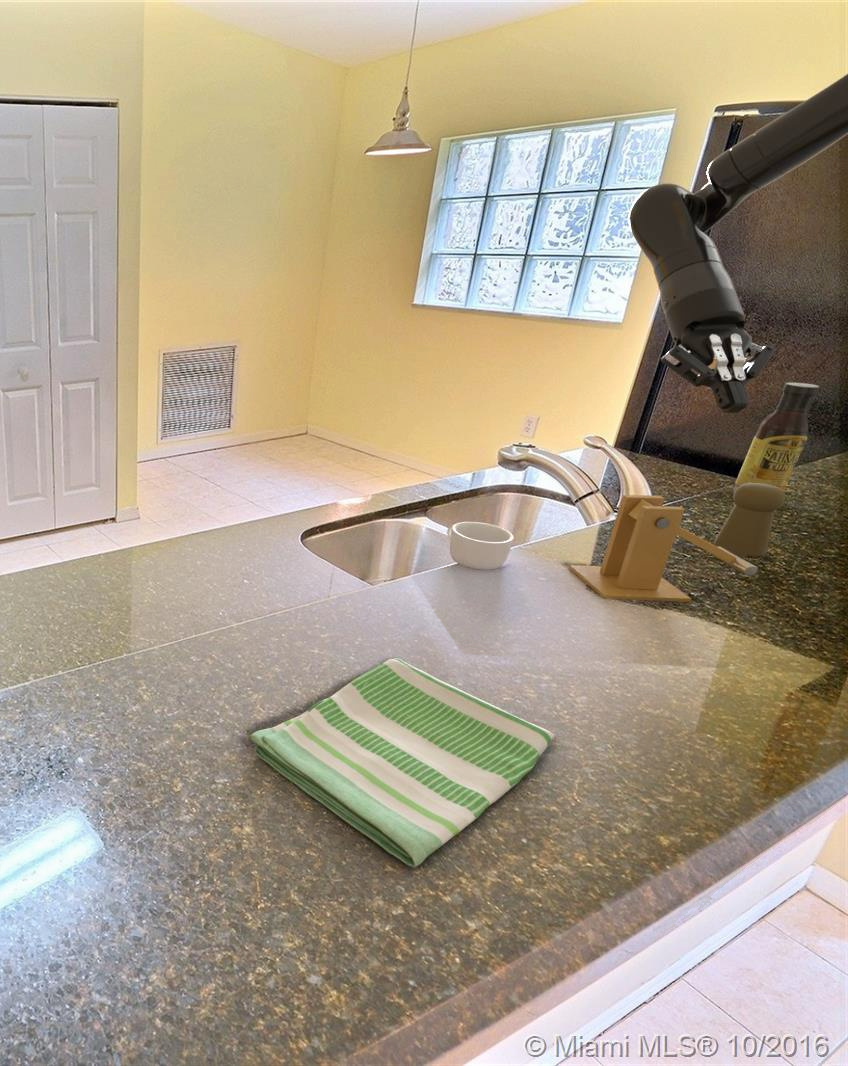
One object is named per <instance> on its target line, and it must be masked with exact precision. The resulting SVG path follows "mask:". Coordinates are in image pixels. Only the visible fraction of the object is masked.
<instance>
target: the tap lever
mask: <svg viewBox="0 0 848 1066" xmlns="http://www.w3.org/2000/svg"><path fill="white" fill-rule="evenodd" d="M641 506H653V505H651V504H650V503H648V502H646V501H644V500H641V501H640V502H639V503H638V504H637V505H636V507H635V508H634V509H633V510H632V511H631V512H630V513H629V514H628V515H630V516H631V517H633V518H634V519H636V520H637V518H638V515H639V511H640V508H641ZM676 536H677V537H680V538H681V539H683V540H686V541H687V542H689V543H691V544H693V545H694V546H696V547H698V548H700V549H702V550H704V551H706V552H708V553H709V554H711V555H712V556H714V557H715V558H717V559H718V560H720V561H722V562H723V563H725V564H727V565H728V566H730V567H731V568H733V569H735V570H736V571H738V572H740V573H741V574H743V575H744V576H747V577H752V576H754V575H756V574H757V573H758V570H759V569H758V567H757V566H756V565H754V564H752V563H750V562H749V561H747V560H746V559H745V558H740V557H739V556H737V555H735V554H733V553H732V552H730V551H728V550H727V549H725V548H723V547H716V546H715V545H714V543H711V542H709V541H707V540H705V539H704V538H702V537H700V536H697V534H694V533H693V532H690V531H688V530H687V529H685V528H683V527H681V526H679V528H678V531H677V534H676Z"/></svg>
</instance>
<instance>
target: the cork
mask: <svg viewBox="0 0 848 1066" xmlns="http://www.w3.org/2000/svg"><path fill="white" fill-rule="evenodd" d="M732 499H733V502H734V503H735V504H734V506H733V508H732V510H731V511H730V513H729V515H728V517H727V518H726V520H725V522H724V523H723V525H722V527H721V529H720V530H719V532H718V534H717V535H716V537H715V539H714V541H713V543H712V544H713V545H715V546H716V547H723V548H725V549H727V550H728V551H730V552H732V553H733V554H735V555H737V556H739V557H740V558H742V559H749V560H759V559H760V557H762V556H765V555H766V554H767V552H768V547H769V541H770V536H771V532H772V527H773V521H774V517H775V512H776V511H777V510H779V509H781V507H782V506H783V505H784V504H785V501H786V494H785V490H784V491H783V490H782V489H780V488H778V487H776V486H772V485H768V484H762V483H746V484H742V485H741V486H739V487H738V488H737V489H736V490H735V492H734V493H733V497H732ZM758 557H759V558H758Z"/></svg>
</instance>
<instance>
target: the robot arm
mask: <svg viewBox="0 0 848 1066" xmlns="http://www.w3.org/2000/svg"><path fill="white" fill-rule="evenodd" d="M847 135H848V73H846V74H844V75H843V76H842V77H840V78H838V79H837V80H836V81H834V82H833V83H832V84H830V85H828V86H827V87H825V88H823V89H822V90H820V91H819V92H817V93H816V94H814V95H812V96H811V97H809V98H807V99H806V100H804V101H803V102H801V103H799V104H798V105H796V106H795V107H793V108H791V109H790V110H788V111H786V112H785V113H783V114H782V115H780V116H779V117H777V118H775V119H773V120H772V121H770V122H769V123H767V124H765V125H764V126H763V127H761V128H759V129H757V130H756V131H755V132H753V133H751V134H750V135H748V136H747V137H746V138H744V139H742V140H741V141H739V142H737V143H736V144H734V145H733V146H731V147H730V148H728V149H726V150H725V151H724V152H721V154H719V155H718V156H717V157H715V158H714V159H713V160H712V161H711V162H710V163H709V165H708V167H707V171H706V175H707V179H708V182H707V183H706V184H704V186H703V187H701V188H700V189H699V190H698V191H695V192H694V193H693V192H692V191H690V190H688V189H686V188H685V187H683V186H681V185H679V184H675V183H669V182H668V183H658V184H656V185H652V186H651V187H649V188H647V189H645V190H643V192H641V193H640V194H639V195H638V196H637V197H636V199H635V200H634V201H633V202H632V205H631V207H630V210H629V214H628V224H629V229H630V232H631V234H632V236H633V238H634V239H635V241H636V243H637V244H638V246H639V247H640V250H641V251H642V252H643V254H644V255H645V257H646V258H647V259H648V261H649V262H650V264H651V267H652V270H653V274H654V278H655V280H656V284H657V286H658V290H659V295H660V303H661V307H662V310H663V313H664V316H665V319H666V322H667V325H668V328H669V332H670V335H671V338H672V341H673V342H674V343H675V344H674V347H672V348H671V349H670V350H669V351H668V352H667V353H666V354H665V355H663V356H662V357H661V358H660V361H661V363H662V364H663V365H665V366H666V367H668V368H669V369H671V370H672V371H674V372H675V373H676V374H677V375H679V376H680V377H681V378H683V379H684V380H686V381H687V382H688V383H690V384H691V385H692V386H693V387H698V388H699V387H701V386H704V387H707V389H708V390H710V391H712V394H713V397H714V399H715V402H716V406H717V407H718V408H719V409H720V410H721V411H722V413H723V414H738V413H740V412H741V411H742V410H744V409H746V408H747V406H748V404H750V397H749V394H748V391H747V388H746V386H745V385H747V384H748V383H749V382H750V381H752V380H753V379H755V378H756V377H758V376H759V375H760V374H761V372H762V370H763V369H764V367H765V366H766V365H767V363H768V361H769V360H770V358H771V357H772V356H773V354H774V353H775V352H776V347H775V346H774V345H772V344H765V346H760V345H758V344H756V343H754V342H752V341H753V339H752V336H751V335H750V334H749V333H748V332H746V330H745V323H746V322H745V321H746V315H745V313H744V310H743V307H742V304H741V302H740V299H739V297H738V294H737V291H736V288H735V286H734V283H733V280H732V278H731V276H730V275H729V273H728V271H727V269H726V268H725V266H724V263H723V260H722V258H721V256H720V253H719V250H718V248H717V246H716V243H715V242H714V241H713V239H712V238H711V237H710V236H709V235H707V232H708V231H709V230H711V229H712V228H713V227H715V225H716V224H718V223H719V222H720V221H721V220H723V219H724V218H725V217H726V216H727V215H729V214H730V213H731V212H732V211H733V210H734V209H736V208H737V207H738V206H739V205H740V204H741V203H742V202H743V201H744V200H746V199H747V198H748V197H749V196H751V195H752V194H754V193H756V192H758V191H760V190H762V189H763V188H765V187H767V186H768V185H770V184H772V183H773V182H775V181H777V180H778V179H781V178H782V177H783V176H785V175H787V174H789V173H790V172H792V171H794V170H796V169H797V168H798V167H800V166H802V165H803V164H805V163H807V162H808V161H810V160H811V159H813V158H815V157H816V156H817V155H819V154H821V153H822V152H824V151H825V150H827V149H829V148H830V147H831V146H832V145H834V144H836V143H837V142H838V141H840V140H842V139H843V138H844V137H846V136H847ZM695 372H696V373H698V374H696V373H695Z"/></svg>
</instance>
